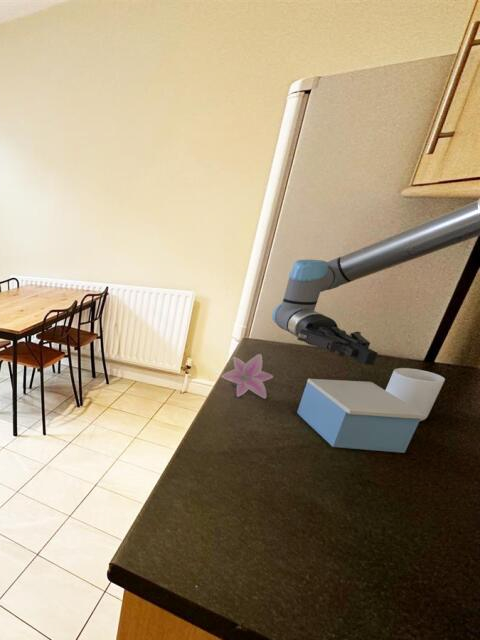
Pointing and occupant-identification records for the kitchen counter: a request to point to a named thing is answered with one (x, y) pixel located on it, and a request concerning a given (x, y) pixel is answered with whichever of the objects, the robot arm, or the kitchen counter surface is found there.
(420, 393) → the cup
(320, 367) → the kitchen counter surface
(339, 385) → the case lid
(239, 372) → the lily
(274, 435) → the kitchen counter surface
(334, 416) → the case
